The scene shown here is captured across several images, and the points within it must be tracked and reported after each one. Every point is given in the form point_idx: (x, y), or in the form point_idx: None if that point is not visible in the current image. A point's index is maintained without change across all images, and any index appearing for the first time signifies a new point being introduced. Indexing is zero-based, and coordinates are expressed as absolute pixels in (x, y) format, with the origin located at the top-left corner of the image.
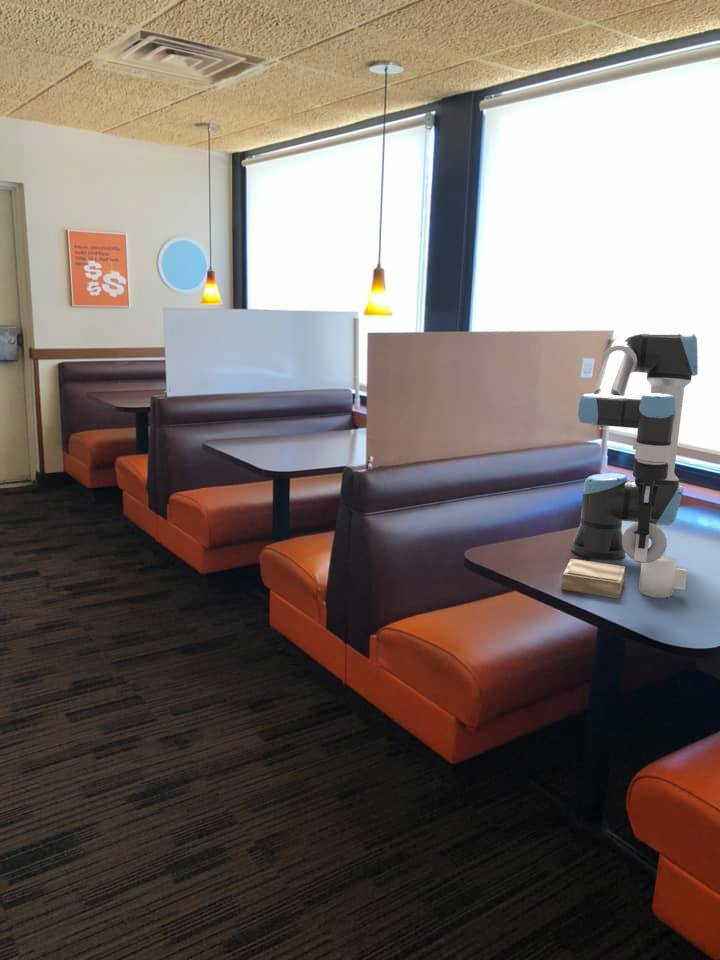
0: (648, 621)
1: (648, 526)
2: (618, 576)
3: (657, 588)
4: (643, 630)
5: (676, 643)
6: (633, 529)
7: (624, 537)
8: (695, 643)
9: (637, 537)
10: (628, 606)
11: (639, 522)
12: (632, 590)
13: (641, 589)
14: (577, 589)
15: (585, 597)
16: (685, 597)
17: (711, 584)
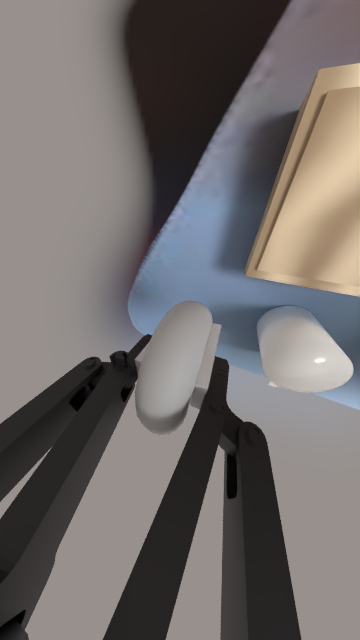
0: (168, 296)
1: (70, 401)
2: (292, 275)
3: (258, 330)
4: (142, 286)
5: (130, 309)
6: (141, 364)
7: (165, 318)
8: (138, 323)
9: (142, 352)
10: (211, 279)
11: (43, 395)
12: (292, 296)
13: (279, 309)
14: (279, 169)
15: (240, 199)
16: None
17: (322, 396)
